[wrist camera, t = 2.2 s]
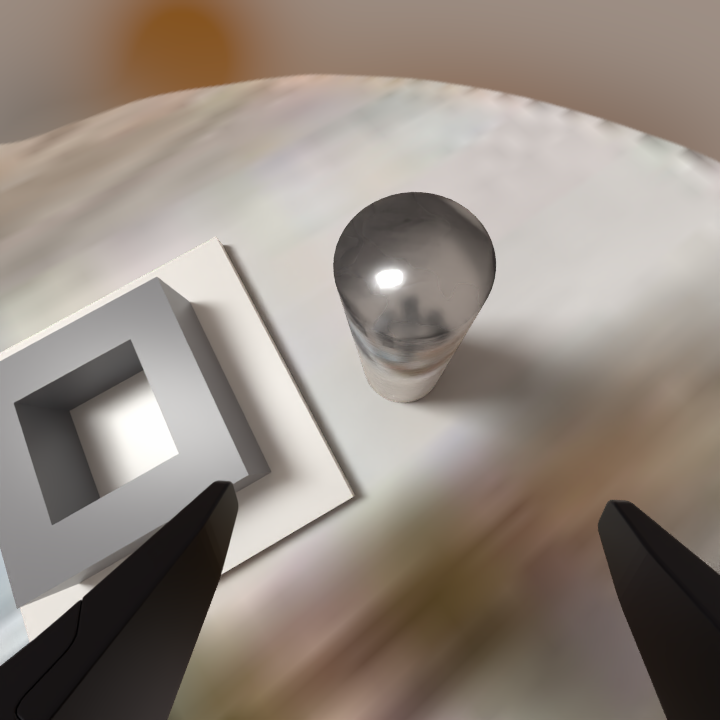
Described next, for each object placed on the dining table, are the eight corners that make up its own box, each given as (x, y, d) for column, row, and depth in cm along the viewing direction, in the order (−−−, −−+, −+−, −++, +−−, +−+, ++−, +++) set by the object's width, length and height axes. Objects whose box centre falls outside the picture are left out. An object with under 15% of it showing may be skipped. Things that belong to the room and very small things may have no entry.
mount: (354, 495, 21) (345, 504, 17) (56, 670, 21) (-34, 727, 16) (222, 244, 26) (188, 201, 22) (-28, 379, 25) (-116, 363, 21)
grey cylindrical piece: (455, 378, 23) (529, 286, 10) (388, 417, 22) (384, 369, 10) (414, 314, 24) (439, 166, 12) (350, 351, 23) (305, 239, 11)
